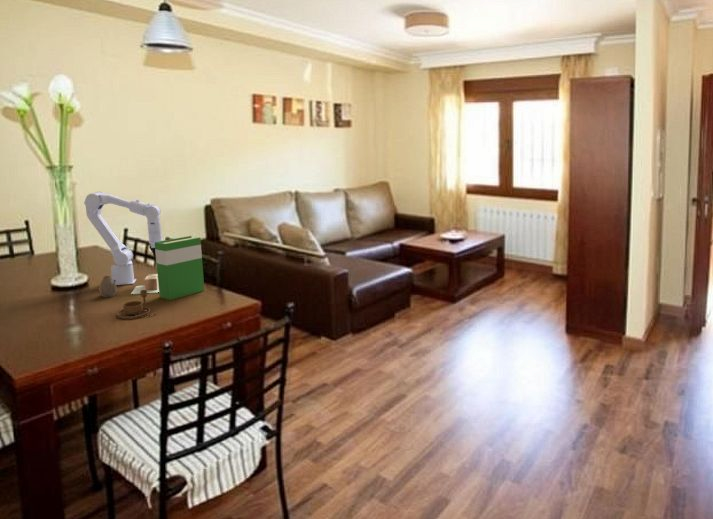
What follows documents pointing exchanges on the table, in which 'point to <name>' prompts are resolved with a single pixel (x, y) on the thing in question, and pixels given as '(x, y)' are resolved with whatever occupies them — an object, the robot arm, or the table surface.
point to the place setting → (134, 308)
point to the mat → (139, 288)
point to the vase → (107, 287)
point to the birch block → (151, 282)
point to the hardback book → (179, 267)
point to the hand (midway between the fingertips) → (157, 260)
